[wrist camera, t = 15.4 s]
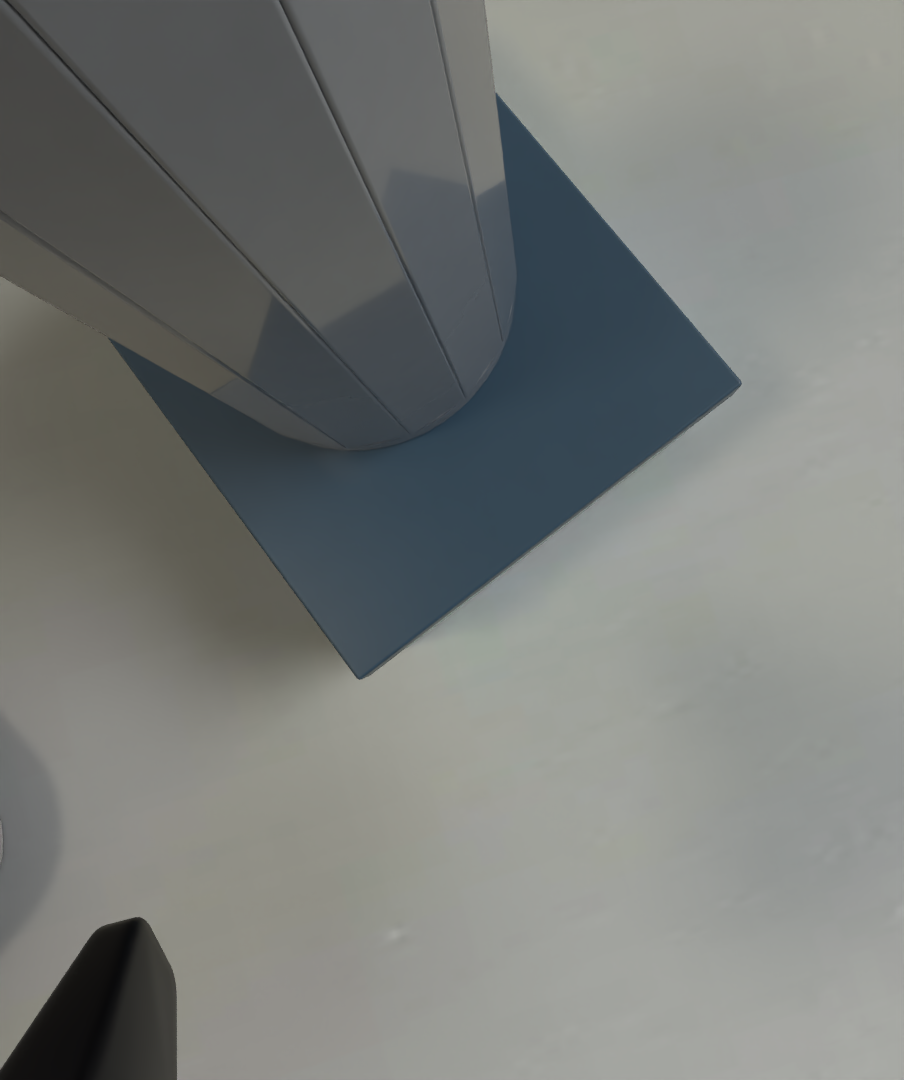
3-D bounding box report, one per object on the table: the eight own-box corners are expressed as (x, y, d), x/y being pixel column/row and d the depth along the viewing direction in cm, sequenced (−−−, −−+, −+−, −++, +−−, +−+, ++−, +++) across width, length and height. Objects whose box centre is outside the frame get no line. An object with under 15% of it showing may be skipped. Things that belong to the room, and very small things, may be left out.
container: (698, 432, 21) (744, 382, 16) (404, 660, 21) (358, 681, 16) (402, 77, 22) (358, -71, 17) (135, 298, 23) (18, 216, 18)
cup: (545, 164, 16) (511, -1419, 3) (479, 478, 16) (178, 38, 3) (244, 122, 17) (-686, -1278, 4) (177, 419, 17) (-1010, -115, 4)
